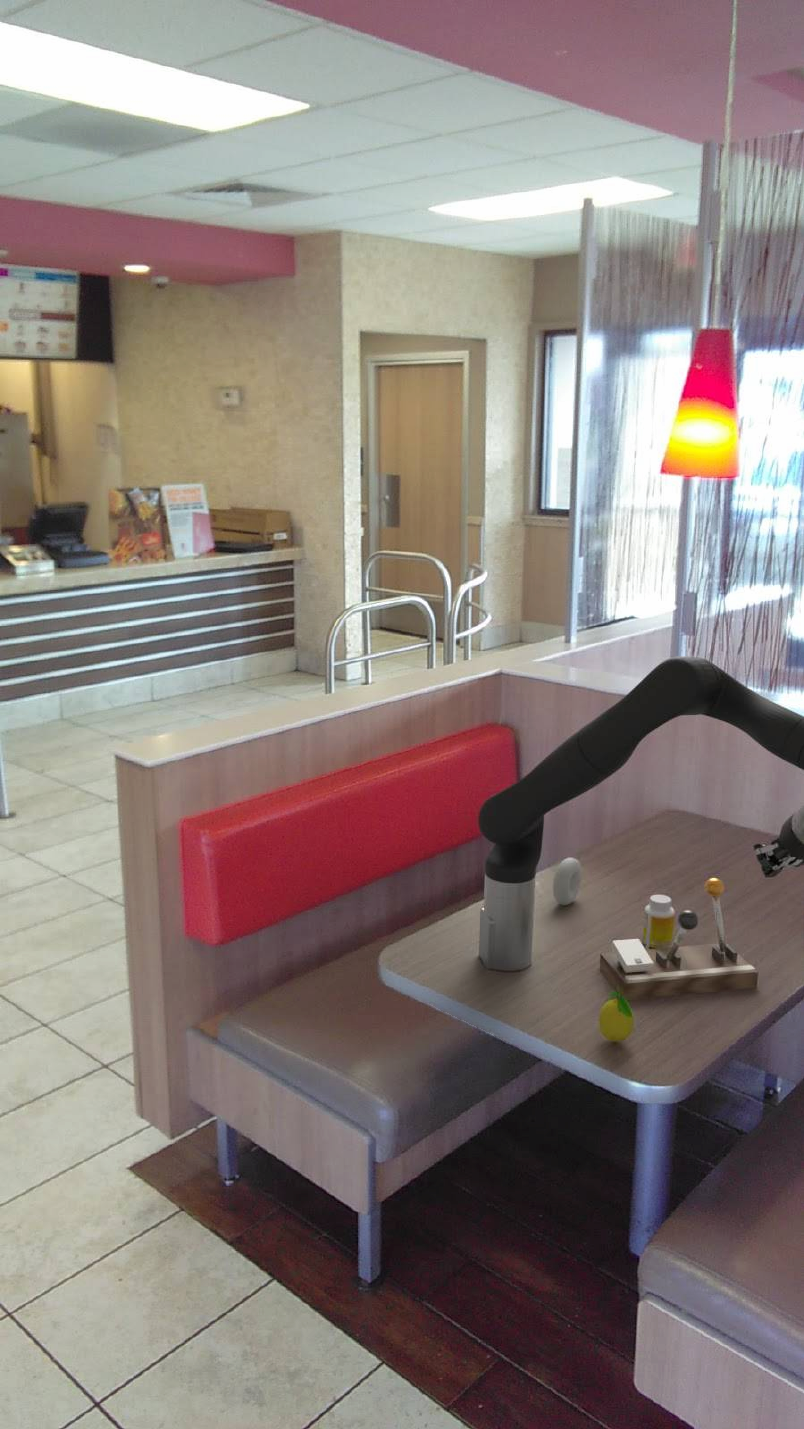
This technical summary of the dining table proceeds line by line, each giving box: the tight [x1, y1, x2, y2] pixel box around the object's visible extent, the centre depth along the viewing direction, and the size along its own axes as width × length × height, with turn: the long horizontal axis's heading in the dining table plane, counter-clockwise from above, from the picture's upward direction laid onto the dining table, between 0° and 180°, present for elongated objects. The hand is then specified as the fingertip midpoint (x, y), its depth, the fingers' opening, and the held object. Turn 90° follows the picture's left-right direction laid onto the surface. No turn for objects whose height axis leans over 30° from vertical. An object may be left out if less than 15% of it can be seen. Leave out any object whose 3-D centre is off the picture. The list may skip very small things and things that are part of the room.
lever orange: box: [704, 877, 727, 952], centre depth 206 cm, size 3×3×14 cm
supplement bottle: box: [642, 894, 676, 950], centre depth 214 cm, size 6×6×10 cm
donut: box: [552, 857, 583, 906], centre depth 234 cm, size 10×4×10 cm, turn 149°
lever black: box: [666, 909, 699, 961], centre depth 197 cm, size 3×3×14 cm
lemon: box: [598, 986, 635, 1043], centre depth 181 cm, size 7×6×10 cm
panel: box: [599, 942, 759, 1001], centre depth 203 cm, size 25×12×5 cm, turn 102°
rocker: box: [611, 938, 654, 973], centre depth 201 cm, size 5×7×2 cm
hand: (767, 871), depth 186 cm, fingers closed
